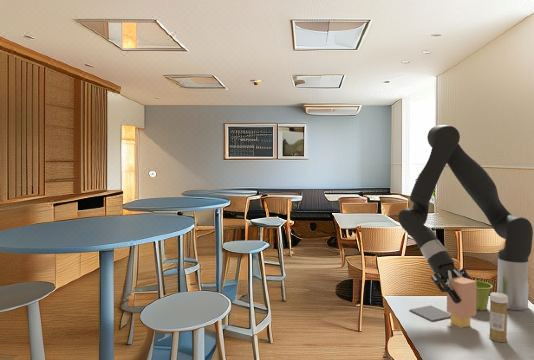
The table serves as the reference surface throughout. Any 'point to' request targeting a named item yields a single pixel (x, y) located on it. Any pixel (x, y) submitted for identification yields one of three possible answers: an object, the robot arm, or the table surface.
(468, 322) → the ochre block
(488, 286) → the plant pot
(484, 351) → the table surface
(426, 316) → the gray mat
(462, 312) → the tall peach pillar
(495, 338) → the spice jar
